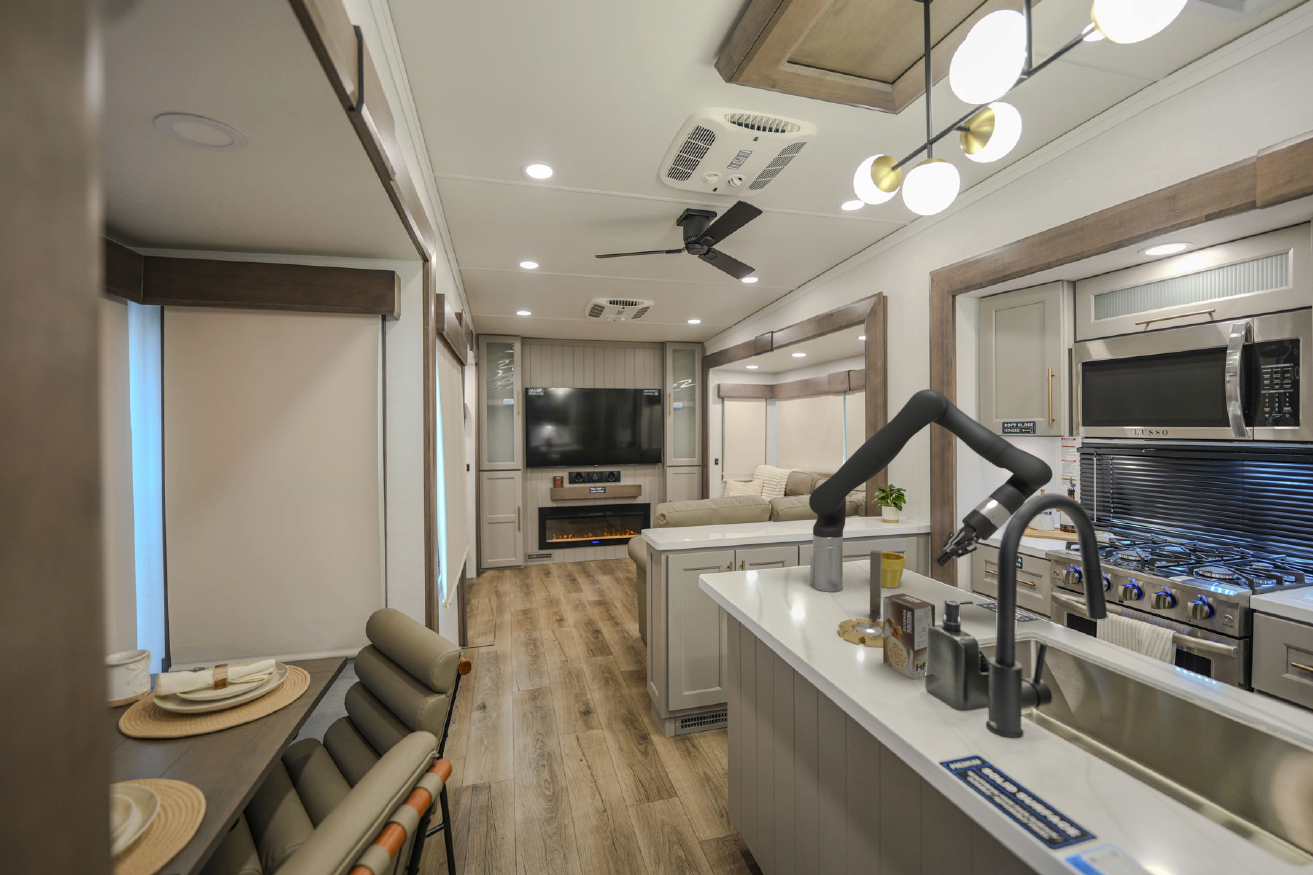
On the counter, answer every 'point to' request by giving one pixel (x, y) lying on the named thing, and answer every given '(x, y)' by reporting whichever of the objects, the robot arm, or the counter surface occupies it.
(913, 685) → the counter surface
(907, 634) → the coffee box
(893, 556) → the plant pot
